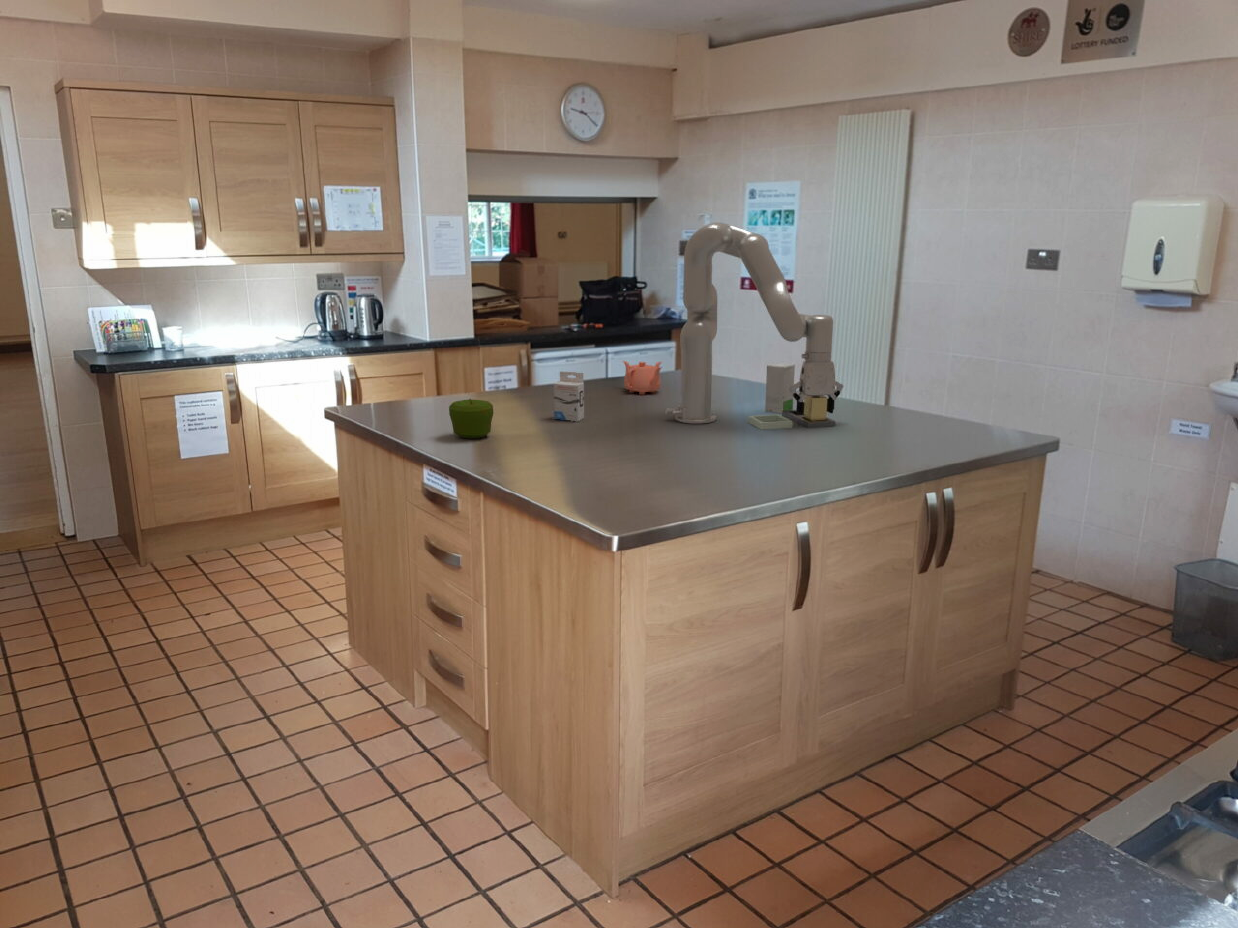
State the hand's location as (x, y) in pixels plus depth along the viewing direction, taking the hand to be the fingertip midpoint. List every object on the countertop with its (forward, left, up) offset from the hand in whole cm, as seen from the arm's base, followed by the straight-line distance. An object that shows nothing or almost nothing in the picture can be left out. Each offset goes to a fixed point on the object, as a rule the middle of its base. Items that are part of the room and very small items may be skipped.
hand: (815, 413), depth 280 cm
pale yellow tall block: (0, 0, -3) cm, 3 cm away
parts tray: (-14, +3, -4) cm, 14 cm away
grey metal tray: (0, +5, -4) cm, 6 cm away
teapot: (-34, +67, -4) cm, 75 cm away
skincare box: (-2, +22, -4) cm, 22 cm away
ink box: (-70, +29, -4) cm, 76 cm away
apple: (-102, +13, -4) cm, 103 cm away
